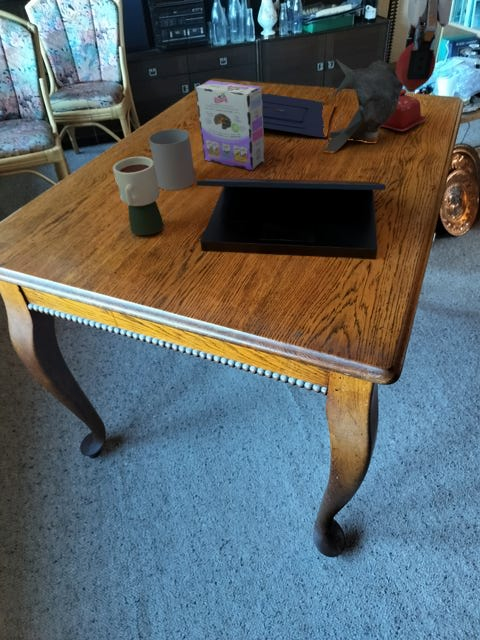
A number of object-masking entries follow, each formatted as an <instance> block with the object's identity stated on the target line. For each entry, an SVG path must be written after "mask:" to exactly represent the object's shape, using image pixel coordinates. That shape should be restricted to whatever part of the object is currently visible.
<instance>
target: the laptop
mask: <svg viewBox="0 0 480 640" xmlns="http://www.w3.org/2000/svg"><path fill="white" fill-rule="evenodd" d="M374 191H375V190H344V189H302V188H261V187H222V189H221V191H220V194H219V195H218V199H217V201H216V203H215V206H214V209H213V210H212V213H211V214H210V217H209V220H208V222H207V225H206V227H205V230H204V233H203V234H202V236H201V238H200V248H201V251H202V252H222V253H224V252H225V253H243V254H260V255H261V254H263V255H285V256H305V257H322V258H323V257H324V258H327V257H328V258H343V259H345V258H347V259H366V260H368V259H369V260H376V259H377V255H378V250H379V249H378V237H377V236H378V235H377V221H376V220H377V219H376V208H375V207H376V206H375V192H374Z"/></svg>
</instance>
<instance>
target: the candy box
mask: <svg viewBox="0 0 480 640" xmlns="http://www.w3.org/2000/svg"><path fill="white" fill-rule="evenodd" d="M194 89H195V96H196V97H195V98H196V104H197V111H198V112H197V113H198V120H199V128H200V136H201V142H202V150H203V159H204V161H206V160H207V162H210V163H216V164H221V165H225V166H231V167H235V168H240V169H244V170H249V171H253V170H254V169H256V168H258V167H259V166H260V165H262V164H263V163H265V140H264V139H265V138H264V135H265V133H264V128H263V104H262V94H263V86H262V85H261V86H259V85H251V84H242V83H234V82H227V81H218V80H211V79H210V80H208V81H206V82H203V83H202V84H200V85H197V86H195V88H194Z"/></svg>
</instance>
